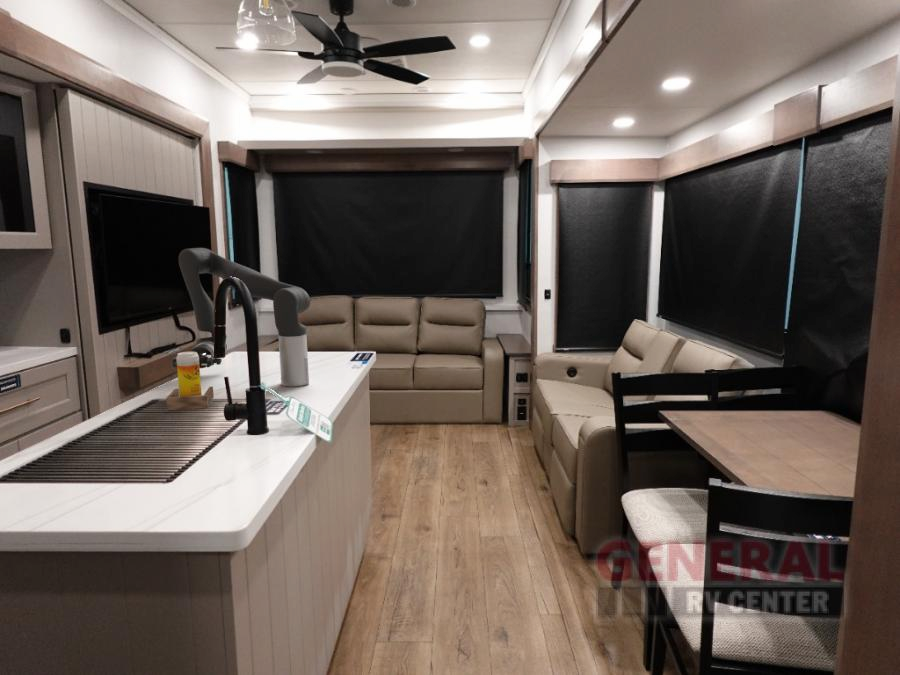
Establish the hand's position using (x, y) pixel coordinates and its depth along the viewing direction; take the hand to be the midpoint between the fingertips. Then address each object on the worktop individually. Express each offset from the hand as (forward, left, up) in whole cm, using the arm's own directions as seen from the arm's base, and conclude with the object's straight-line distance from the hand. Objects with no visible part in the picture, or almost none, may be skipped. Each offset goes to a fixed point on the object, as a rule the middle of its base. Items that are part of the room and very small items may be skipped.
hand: (193, 364), depth 172 cm
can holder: (0, +7, -11) cm, 13 cm away
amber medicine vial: (0, +7, -10) cm, 12 cm away
